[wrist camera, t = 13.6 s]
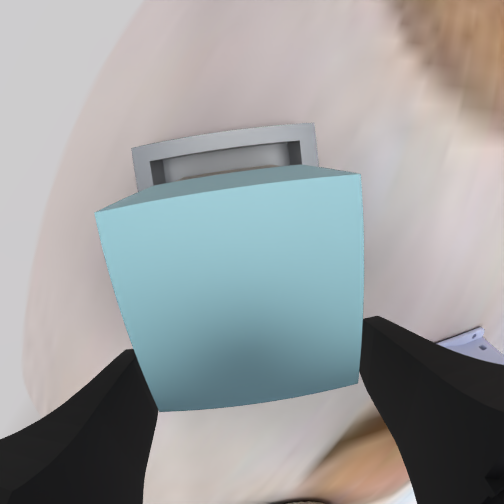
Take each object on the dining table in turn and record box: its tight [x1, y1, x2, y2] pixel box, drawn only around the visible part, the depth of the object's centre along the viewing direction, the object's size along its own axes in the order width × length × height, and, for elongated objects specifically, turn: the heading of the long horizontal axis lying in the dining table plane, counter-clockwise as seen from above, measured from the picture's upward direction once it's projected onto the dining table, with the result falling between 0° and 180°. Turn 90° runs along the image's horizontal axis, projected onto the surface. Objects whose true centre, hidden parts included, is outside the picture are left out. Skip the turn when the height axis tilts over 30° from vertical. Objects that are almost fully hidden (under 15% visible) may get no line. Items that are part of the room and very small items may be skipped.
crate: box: [131, 123, 319, 192], centre depth 16 cm, size 9×9×4 cm
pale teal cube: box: [95, 164, 364, 412], centre depth 8 cm, size 5×5×5 cm
